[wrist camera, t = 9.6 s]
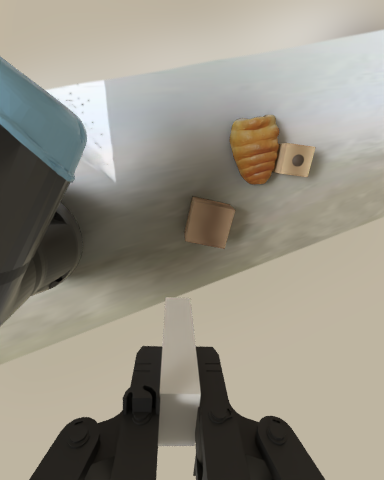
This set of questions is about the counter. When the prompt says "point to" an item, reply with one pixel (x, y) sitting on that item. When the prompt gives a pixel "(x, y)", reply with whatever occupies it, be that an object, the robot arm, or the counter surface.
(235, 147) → the pastry
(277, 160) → the beech block
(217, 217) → the walnut block
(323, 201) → the counter surface
